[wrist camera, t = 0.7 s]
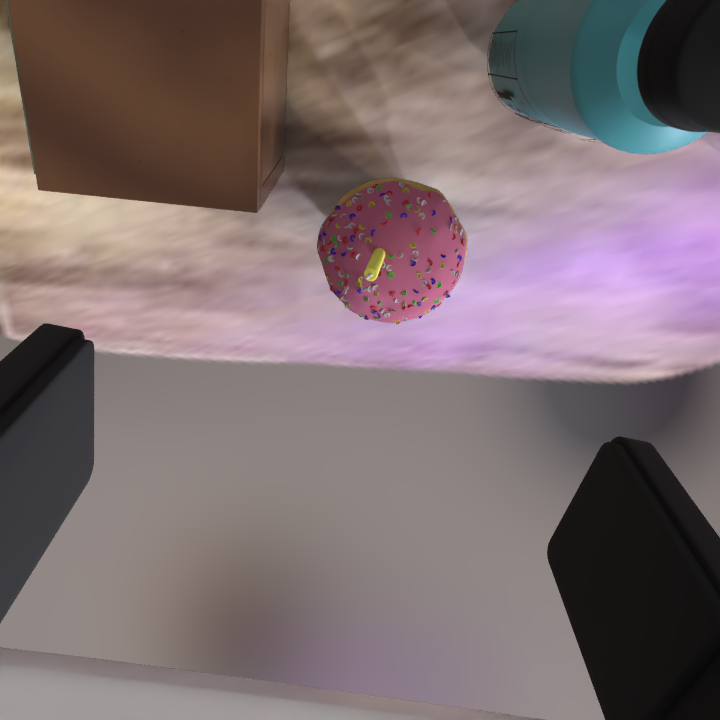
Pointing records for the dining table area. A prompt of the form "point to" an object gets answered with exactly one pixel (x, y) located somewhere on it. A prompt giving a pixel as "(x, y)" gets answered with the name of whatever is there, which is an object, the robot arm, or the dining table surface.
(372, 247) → the cupcake
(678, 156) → the dining table surface
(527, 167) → the dining table surface
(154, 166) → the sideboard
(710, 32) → the beverage bottle
